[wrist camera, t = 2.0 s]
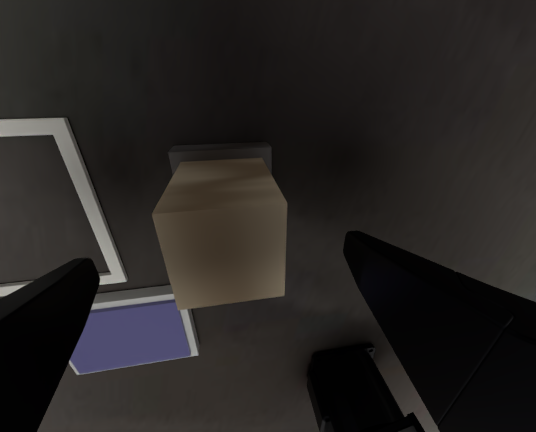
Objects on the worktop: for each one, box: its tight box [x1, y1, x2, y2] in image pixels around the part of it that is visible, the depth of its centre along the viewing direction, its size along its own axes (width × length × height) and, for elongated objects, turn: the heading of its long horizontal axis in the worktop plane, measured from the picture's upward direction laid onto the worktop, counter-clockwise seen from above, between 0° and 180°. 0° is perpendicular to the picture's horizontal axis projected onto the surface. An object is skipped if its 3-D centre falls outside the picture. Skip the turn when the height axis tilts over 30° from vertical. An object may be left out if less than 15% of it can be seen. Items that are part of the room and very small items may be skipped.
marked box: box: [0, 118, 128, 296], centre depth 13 cm, size 10×10×1 cm
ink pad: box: [69, 285, 199, 375], centre depth 17 cm, size 9×7×1 cm
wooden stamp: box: [152, 142, 287, 310], centre depth 11 cm, size 5×5×7 cm
